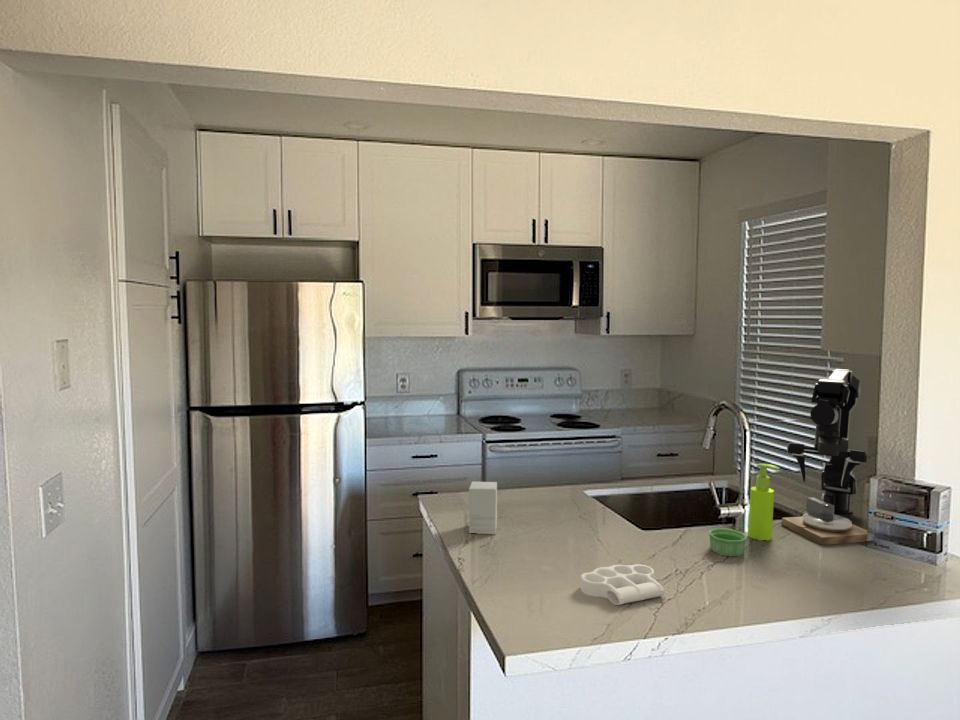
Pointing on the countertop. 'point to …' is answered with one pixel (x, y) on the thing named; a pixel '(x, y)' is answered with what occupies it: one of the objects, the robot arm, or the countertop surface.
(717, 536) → the ramekin
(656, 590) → the white brass knuckles
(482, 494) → the supplement box
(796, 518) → the dial base
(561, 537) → the countertop surface
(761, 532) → the soap dispenser
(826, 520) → the dial
